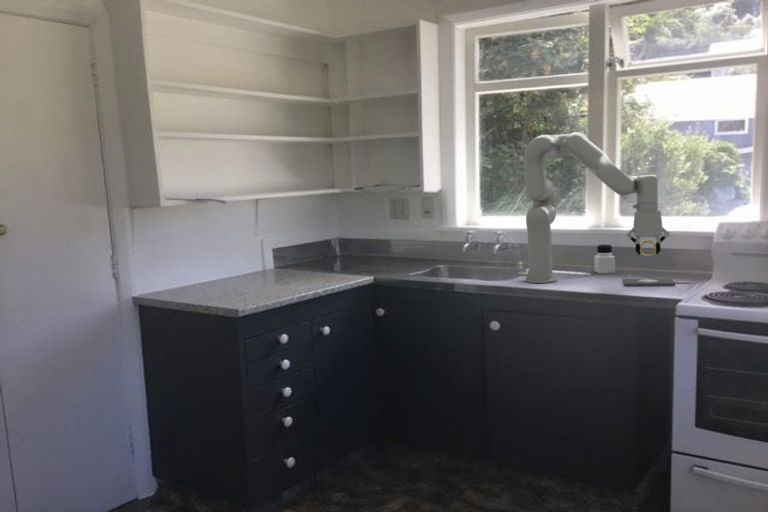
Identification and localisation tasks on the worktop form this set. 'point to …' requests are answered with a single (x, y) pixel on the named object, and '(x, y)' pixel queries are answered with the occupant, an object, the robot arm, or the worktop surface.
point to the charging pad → (652, 282)
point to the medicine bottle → (604, 260)
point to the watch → (647, 242)
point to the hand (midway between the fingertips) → (648, 253)
